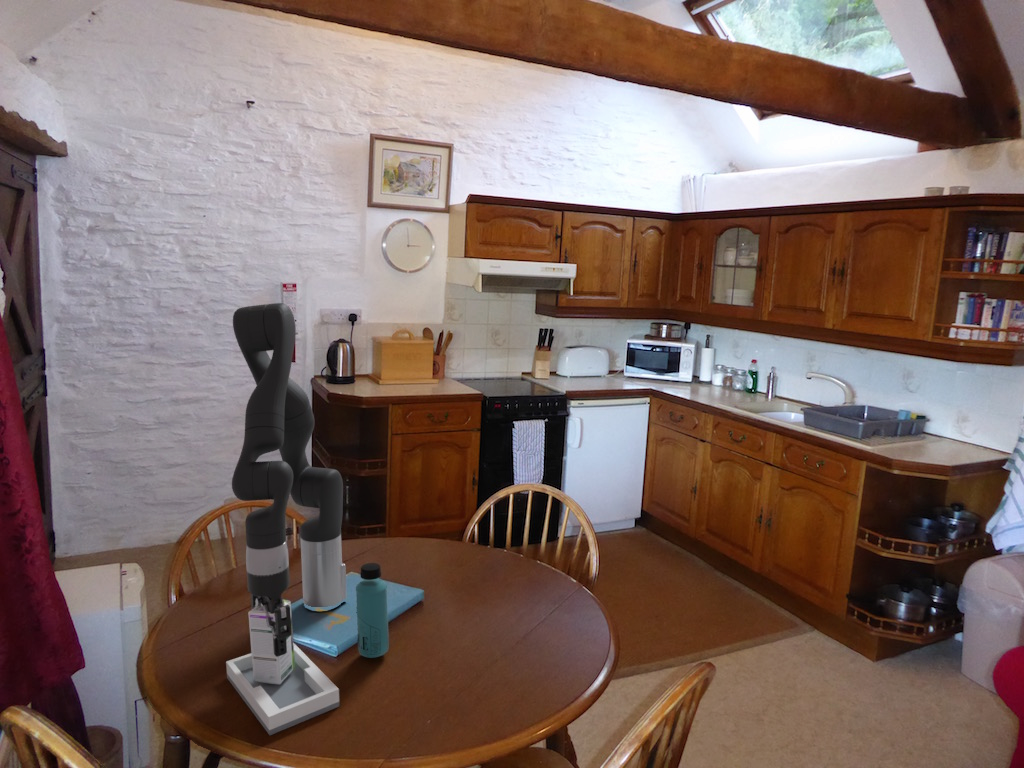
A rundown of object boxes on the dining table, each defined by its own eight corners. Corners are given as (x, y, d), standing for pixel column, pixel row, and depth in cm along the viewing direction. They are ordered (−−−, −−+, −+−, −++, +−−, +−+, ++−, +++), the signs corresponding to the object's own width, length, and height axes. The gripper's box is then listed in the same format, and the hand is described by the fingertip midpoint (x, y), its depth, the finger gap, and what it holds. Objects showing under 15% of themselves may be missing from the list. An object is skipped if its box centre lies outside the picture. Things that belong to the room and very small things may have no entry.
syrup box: (280, 685, 134) (276, 613, 132) (252, 681, 135) (247, 610, 133) (295, 668, 140) (292, 599, 137) (268, 664, 141) (264, 596, 138)
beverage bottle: (395, 651, 150) (393, 561, 146) (379, 668, 143) (377, 574, 140) (367, 645, 152) (365, 556, 148) (351, 662, 145) (348, 569, 142)
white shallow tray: (291, 655, 148) (290, 639, 147) (339, 706, 131) (338, 688, 130) (227, 678, 140) (226, 661, 139) (269, 735, 123) (268, 717, 122)
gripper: (302, 572, 131) (306, 654, 133) (273, 548, 142) (277, 624, 144) (261, 584, 126) (266, 668, 129) (234, 557, 137) (239, 636, 140)
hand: (272, 645), depth 137 cm, fingers closed on syrup box, 7 cm apart
